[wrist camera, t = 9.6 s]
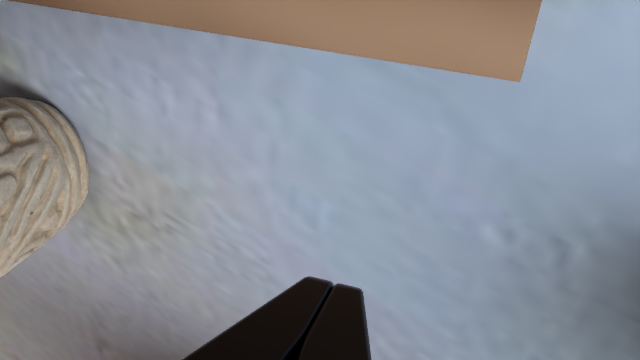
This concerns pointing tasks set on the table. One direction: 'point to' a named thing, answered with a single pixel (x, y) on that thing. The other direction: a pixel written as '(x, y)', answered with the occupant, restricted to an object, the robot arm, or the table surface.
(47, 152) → the carving
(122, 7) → the board
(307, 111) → the table surface
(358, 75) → the table surface
